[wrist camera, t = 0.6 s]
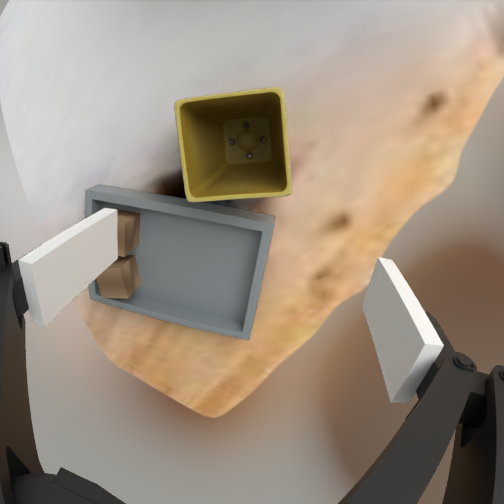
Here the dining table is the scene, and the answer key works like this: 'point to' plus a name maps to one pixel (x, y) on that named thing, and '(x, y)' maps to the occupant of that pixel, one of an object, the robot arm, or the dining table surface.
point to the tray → (191, 260)
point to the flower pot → (234, 145)
